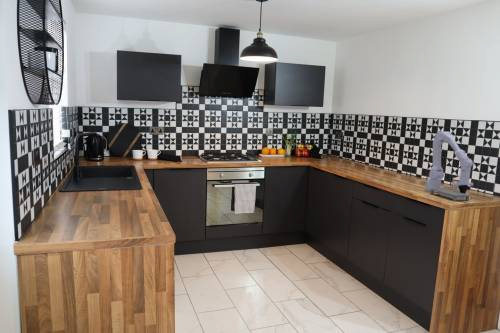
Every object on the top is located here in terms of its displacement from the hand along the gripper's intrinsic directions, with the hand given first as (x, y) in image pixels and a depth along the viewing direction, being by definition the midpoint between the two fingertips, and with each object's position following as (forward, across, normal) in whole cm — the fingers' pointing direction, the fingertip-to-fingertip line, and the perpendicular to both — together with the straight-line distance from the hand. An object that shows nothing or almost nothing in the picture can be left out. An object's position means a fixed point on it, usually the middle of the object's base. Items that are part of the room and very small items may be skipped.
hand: (462, 195), depth 269 cm
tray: (+1, -7, 0) cm, 7 cm away
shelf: (+1, -11, 0) cm, 11 cm away
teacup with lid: (+1, +14, +19) cm, 23 cm away
